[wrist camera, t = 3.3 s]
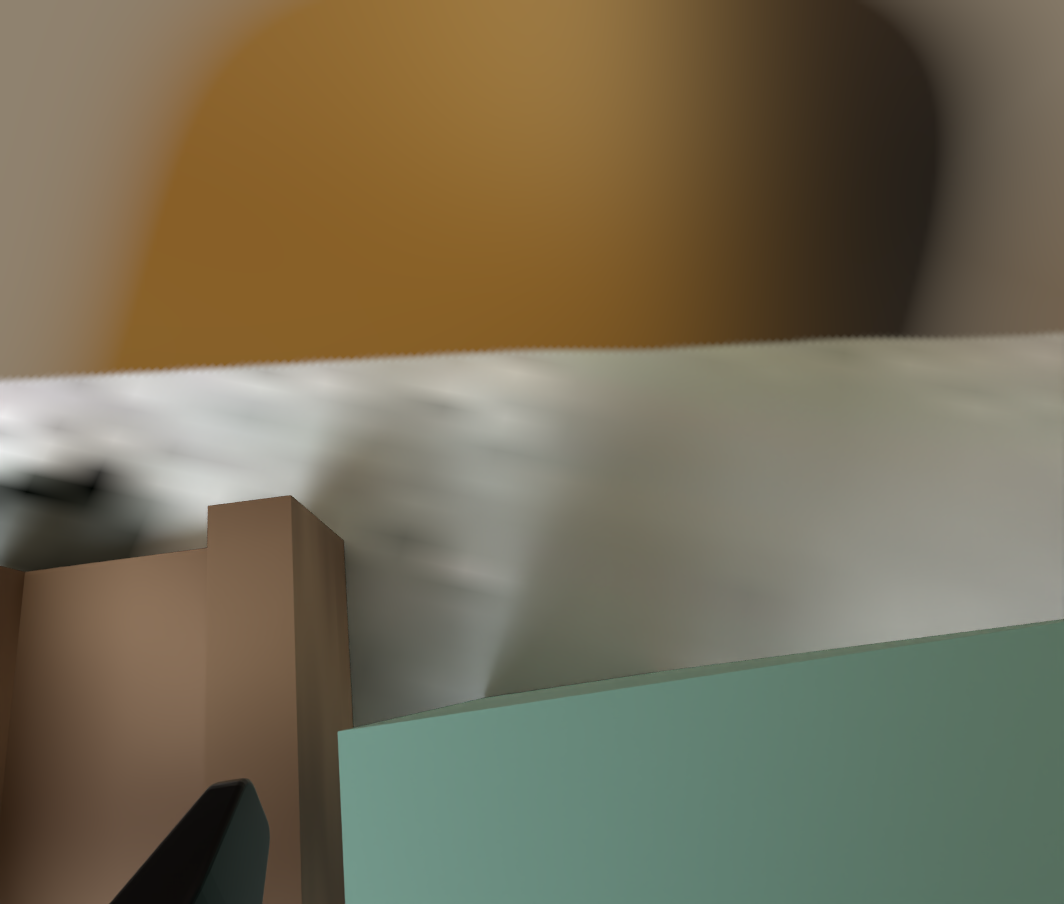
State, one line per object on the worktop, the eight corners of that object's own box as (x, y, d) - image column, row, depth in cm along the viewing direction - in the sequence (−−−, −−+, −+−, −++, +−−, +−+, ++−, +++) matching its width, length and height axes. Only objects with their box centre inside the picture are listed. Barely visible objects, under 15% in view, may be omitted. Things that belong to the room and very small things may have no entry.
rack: (376, 1183, 12) (314, 1399, 9) (-94, 1273, 12) (-378, 1544, 8) (343, 540, 16) (290, 495, 13) (-13, 587, 16) (-179, 555, 12)
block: (697, 871, 14) (1835, 2036, 2) (506, 903, 14) (418, 2465, 2) (658, 671, 15) (1192, 602, 3) (483, 697, 15) (336, 732, 3)
